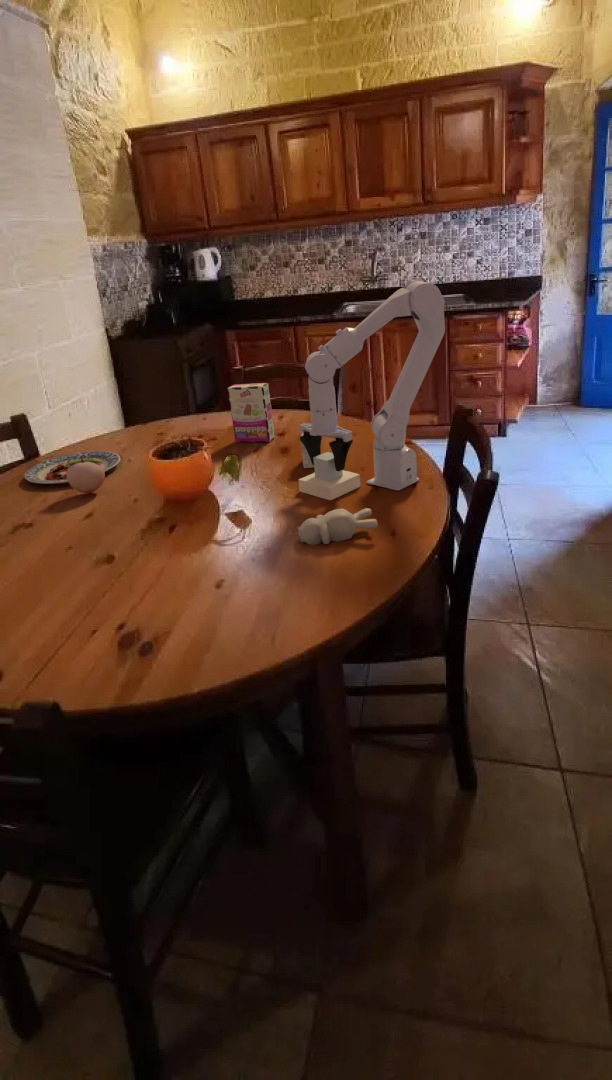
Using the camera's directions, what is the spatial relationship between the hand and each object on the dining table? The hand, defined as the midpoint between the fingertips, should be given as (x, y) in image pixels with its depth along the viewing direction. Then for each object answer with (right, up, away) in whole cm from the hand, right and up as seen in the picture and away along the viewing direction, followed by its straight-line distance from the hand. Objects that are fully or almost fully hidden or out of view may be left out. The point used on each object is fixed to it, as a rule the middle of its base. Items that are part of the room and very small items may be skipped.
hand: (328, 467), depth 151 cm
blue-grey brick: (0, -2, +1) cm, 2 cm away
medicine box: (-3, +3, +21) cm, 21 cm away
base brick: (+1, -5, +2) cm, 5 cm away
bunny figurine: (+1, -16, -21) cm, 27 cm away
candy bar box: (-20, +13, +44) cm, 50 cm away
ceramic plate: (-69, +2, +33) cm, 77 cm away
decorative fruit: (-59, -5, +15) cm, 61 cm away
